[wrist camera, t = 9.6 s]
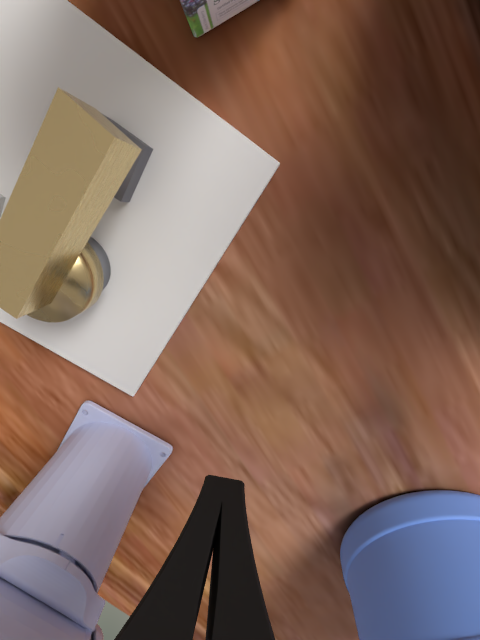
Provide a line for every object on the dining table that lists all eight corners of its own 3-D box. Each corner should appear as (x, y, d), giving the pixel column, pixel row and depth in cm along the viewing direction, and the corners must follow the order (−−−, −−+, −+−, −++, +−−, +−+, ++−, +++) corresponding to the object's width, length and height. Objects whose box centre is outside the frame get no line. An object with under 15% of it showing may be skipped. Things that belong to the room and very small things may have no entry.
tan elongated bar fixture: (2, 274, 16) (-71, 293, 12) (88, 95, 12) (19, 52, 9) (78, 328, 17) (30, 360, 13) (179, 177, 13) (148, 167, 10)
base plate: (137, 390, 21) (123, 410, 19) (-100, 255, 19) (-146, 261, 17) (279, 165, 15) (281, 158, 13) (-54, -89, 12) (-121, -151, 10)
